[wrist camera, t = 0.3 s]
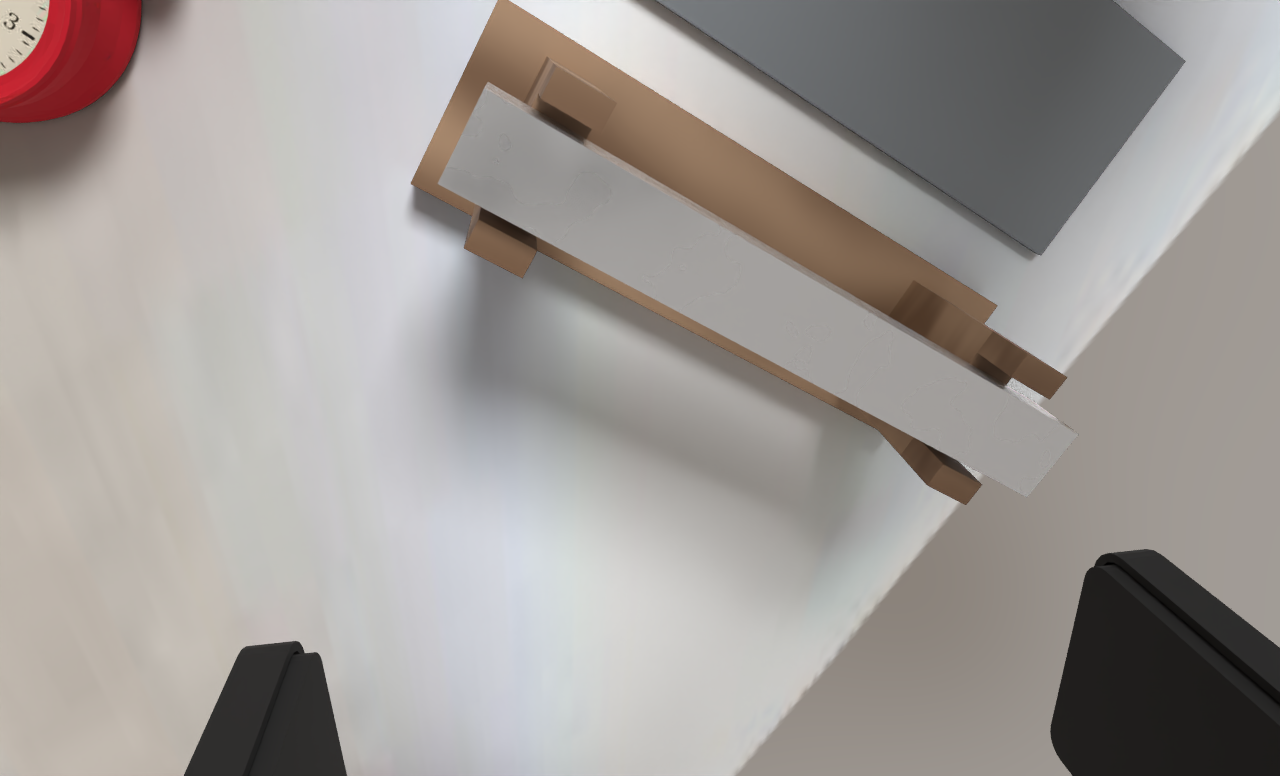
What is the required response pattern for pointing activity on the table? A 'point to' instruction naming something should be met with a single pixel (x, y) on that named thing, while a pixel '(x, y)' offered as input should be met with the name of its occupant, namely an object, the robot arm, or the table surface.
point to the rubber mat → (964, 88)
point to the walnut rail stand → (719, 214)
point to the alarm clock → (62, 54)
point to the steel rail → (744, 290)
